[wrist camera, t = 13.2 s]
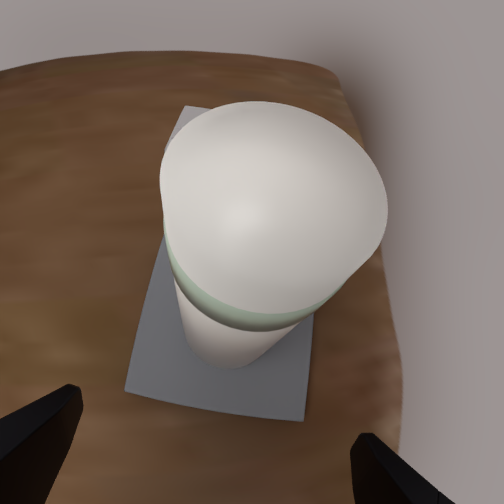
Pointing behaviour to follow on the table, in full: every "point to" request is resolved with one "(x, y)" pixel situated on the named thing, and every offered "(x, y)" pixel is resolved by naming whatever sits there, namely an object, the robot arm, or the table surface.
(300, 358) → the dock mat
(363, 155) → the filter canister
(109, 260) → the table surface
